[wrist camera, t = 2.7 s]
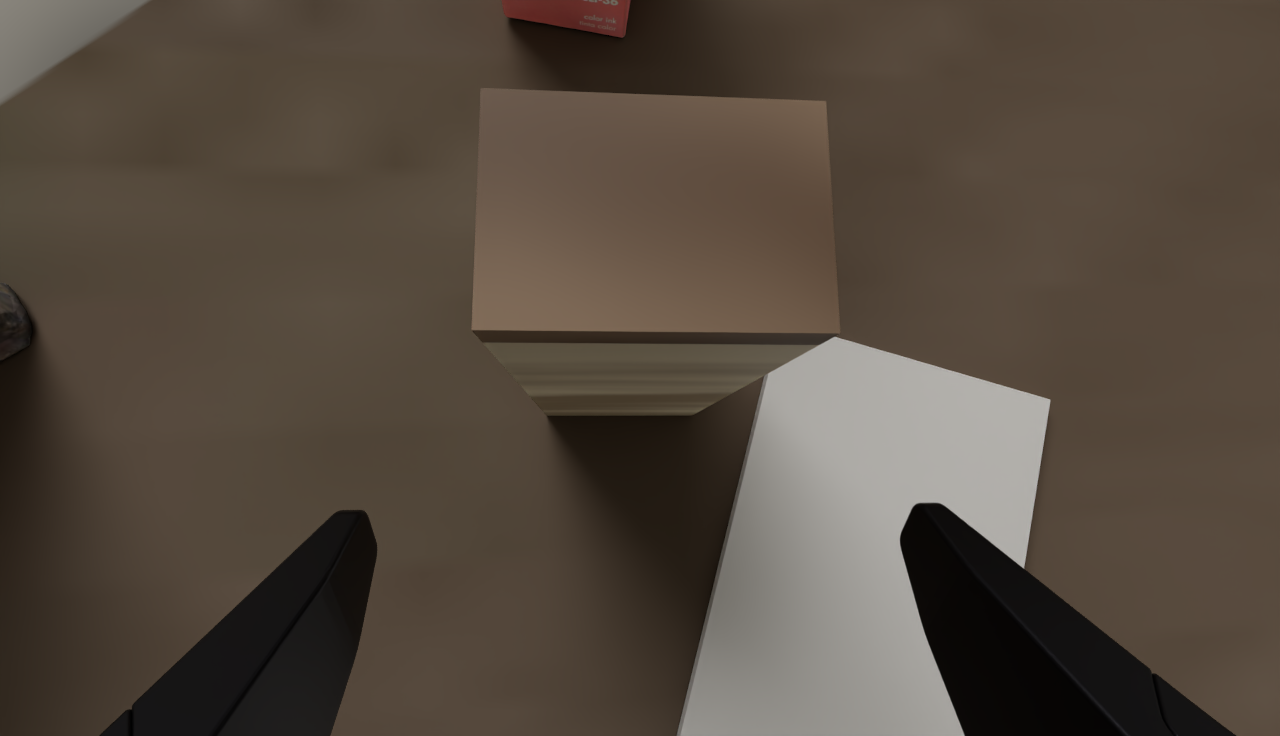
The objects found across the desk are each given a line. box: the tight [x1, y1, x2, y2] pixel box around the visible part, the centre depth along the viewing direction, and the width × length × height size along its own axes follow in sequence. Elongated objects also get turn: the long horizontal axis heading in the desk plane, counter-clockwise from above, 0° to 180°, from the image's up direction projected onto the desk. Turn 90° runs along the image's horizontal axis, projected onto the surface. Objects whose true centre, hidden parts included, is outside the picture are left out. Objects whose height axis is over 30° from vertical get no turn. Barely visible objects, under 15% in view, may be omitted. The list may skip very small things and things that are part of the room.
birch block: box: [472, 88, 840, 416], centre depth 15 cm, size 4×5×13 cm
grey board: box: [677, 337, 1050, 736], centre depth 20 cm, size 16×10×1 cm, turn 164°
